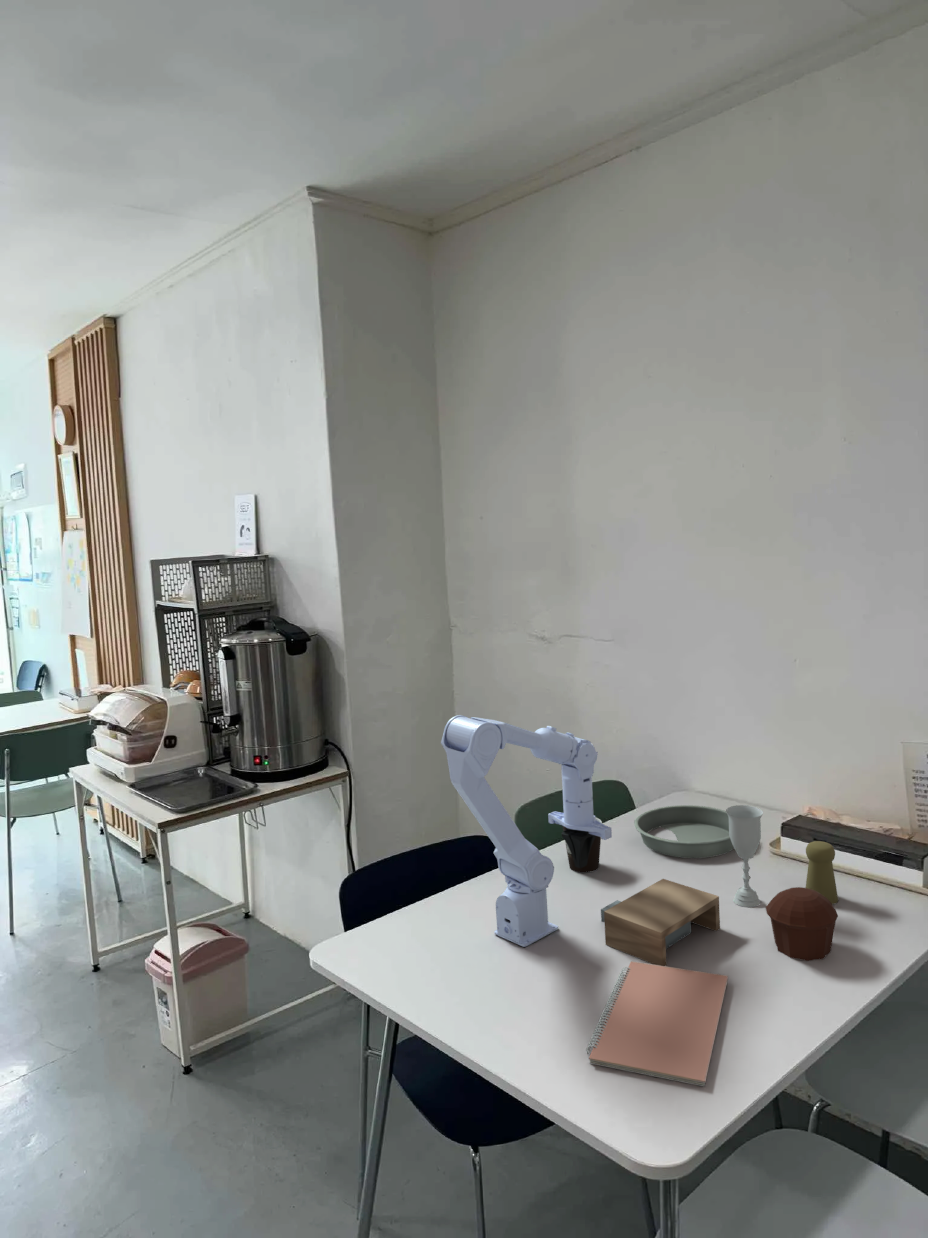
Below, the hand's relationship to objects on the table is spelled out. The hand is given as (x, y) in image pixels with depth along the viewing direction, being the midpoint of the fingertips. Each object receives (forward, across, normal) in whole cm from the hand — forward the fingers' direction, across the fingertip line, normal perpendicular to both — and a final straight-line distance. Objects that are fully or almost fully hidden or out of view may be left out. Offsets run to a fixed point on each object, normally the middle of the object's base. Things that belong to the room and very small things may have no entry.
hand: (581, 866), depth 165 cm
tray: (+9, -14, -1) cm, 16 cm away
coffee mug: (+9, +14, -16) cm, 23 cm away
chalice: (+9, -22, -23) cm, 33 cm away
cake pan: (+9, +4, -42) cm, 43 cm away
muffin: (+9, -38, -13) cm, 41 cm away
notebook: (+9, -33, +21) cm, 40 cm away
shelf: (+8, -18, -1) cm, 20 cm away
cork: (+9, -32, -33) cm, 47 cm away
